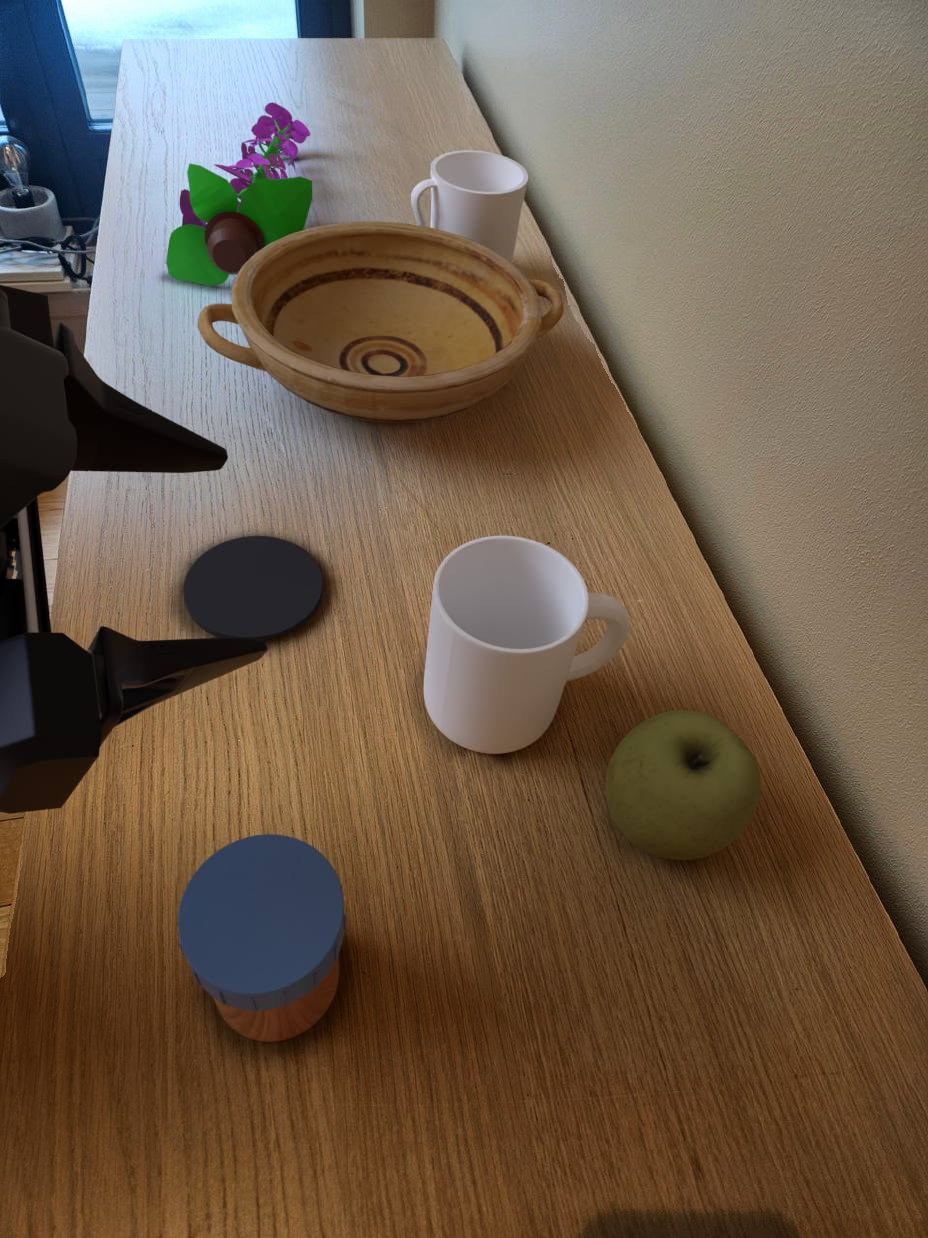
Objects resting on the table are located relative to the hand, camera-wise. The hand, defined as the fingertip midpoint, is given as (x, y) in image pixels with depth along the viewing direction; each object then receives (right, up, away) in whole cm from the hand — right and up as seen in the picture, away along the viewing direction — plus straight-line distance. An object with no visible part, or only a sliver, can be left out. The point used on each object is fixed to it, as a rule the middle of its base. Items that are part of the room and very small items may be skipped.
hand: (243, 550), depth 36 cm
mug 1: (+9, +31, +49) cm, 59 cm away
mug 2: (+13, -8, +18) cm, 23 cm away
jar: (0, -20, +6) cm, 21 cm away
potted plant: (-12, +38, +53) cm, 66 cm away
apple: (+20, -14, +13) cm, 28 cm away
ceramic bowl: (+3, +17, +38) cm, 42 cm away
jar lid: (+1, -15, 0) cm, 15 cm away
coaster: (-5, -1, +21) cm, 22 cm away
